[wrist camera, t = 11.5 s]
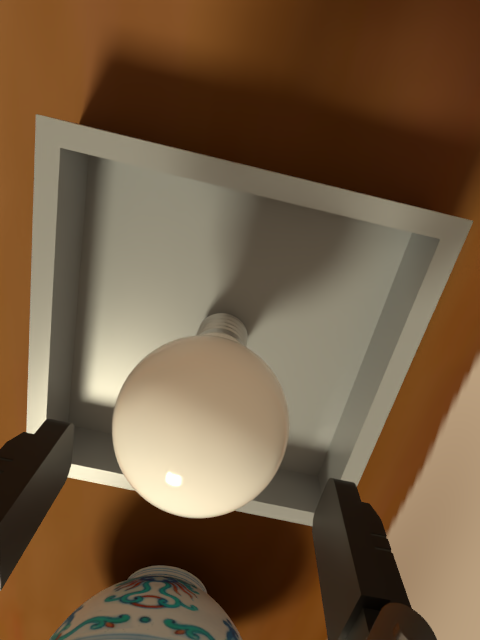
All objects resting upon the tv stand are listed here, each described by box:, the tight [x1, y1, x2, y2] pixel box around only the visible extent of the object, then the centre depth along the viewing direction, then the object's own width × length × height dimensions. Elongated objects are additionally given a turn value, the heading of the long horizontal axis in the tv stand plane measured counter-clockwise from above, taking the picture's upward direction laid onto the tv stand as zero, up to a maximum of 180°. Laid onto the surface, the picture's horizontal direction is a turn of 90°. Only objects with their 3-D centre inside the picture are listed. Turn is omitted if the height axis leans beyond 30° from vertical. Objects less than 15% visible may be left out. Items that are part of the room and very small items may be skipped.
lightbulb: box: [112, 313, 290, 518], centre depth 17 cm, size 6×6×11 cm
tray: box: [27, 114, 473, 526], centre depth 21 cm, size 18×18×4 cm
